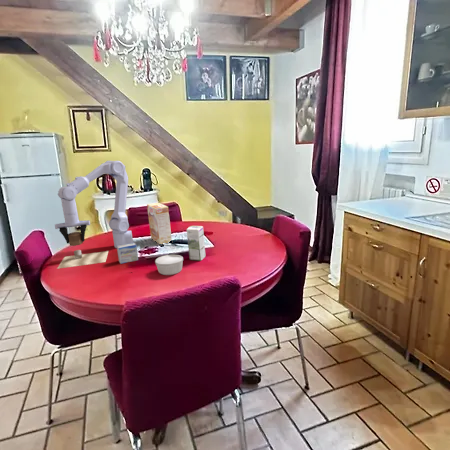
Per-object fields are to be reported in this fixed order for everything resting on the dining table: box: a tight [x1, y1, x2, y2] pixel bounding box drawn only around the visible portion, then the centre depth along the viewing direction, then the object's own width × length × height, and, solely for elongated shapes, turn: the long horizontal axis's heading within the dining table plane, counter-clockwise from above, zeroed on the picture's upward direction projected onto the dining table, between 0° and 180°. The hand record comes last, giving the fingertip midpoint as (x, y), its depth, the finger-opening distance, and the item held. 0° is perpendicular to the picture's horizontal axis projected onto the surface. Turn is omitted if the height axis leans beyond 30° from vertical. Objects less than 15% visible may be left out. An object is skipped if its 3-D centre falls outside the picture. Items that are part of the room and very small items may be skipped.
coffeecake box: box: [146, 202, 173, 245], centre depth 178 cm, size 15×7×20 cm, turn 29°
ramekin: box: [154, 254, 184, 276], centre depth 137 cm, size 11×11×5 cm
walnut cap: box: [68, 231, 84, 247], centre depth 154 cm, size 6×6×5 cm
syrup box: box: [186, 225, 206, 261], centre depth 148 cm, size 6×6×14 cm
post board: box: [56, 249, 109, 270], centre depth 154 cm, size 20×16×5 cm
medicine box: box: [116, 242, 139, 265], centre depth 148 cm, size 8×4×9 cm, turn 118°
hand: (75, 241), depth 154 cm, fingers closed on walnut cap, 6 cm apart
